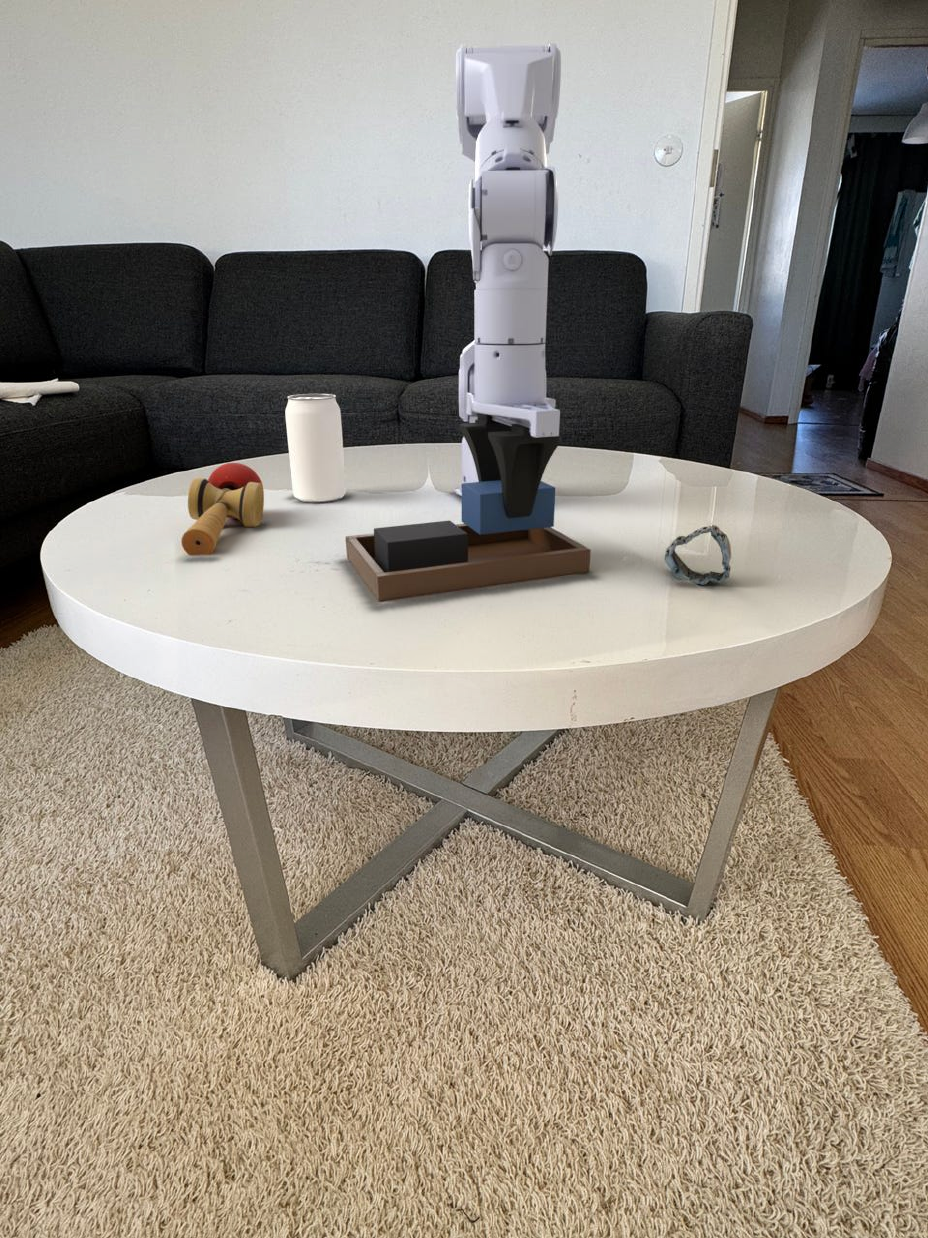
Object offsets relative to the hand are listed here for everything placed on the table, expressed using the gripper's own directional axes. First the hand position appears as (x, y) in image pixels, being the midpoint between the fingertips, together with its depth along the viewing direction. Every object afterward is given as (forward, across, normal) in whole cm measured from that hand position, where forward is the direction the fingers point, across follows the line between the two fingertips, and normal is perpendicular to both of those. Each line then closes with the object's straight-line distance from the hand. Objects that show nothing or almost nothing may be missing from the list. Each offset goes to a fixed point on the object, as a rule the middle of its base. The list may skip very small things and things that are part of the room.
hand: (506, 509), depth 63 cm
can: (+5, +32, +11) cm, 34 cm away
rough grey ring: (+5, -10, -13) cm, 17 cm away
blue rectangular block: (+1, 0, 0) cm, 1 cm away
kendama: (+5, +20, +23) cm, 31 cm away
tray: (+5, 0, +4) cm, 6 cm away
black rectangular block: (+5, 0, +8) cm, 9 cm away
